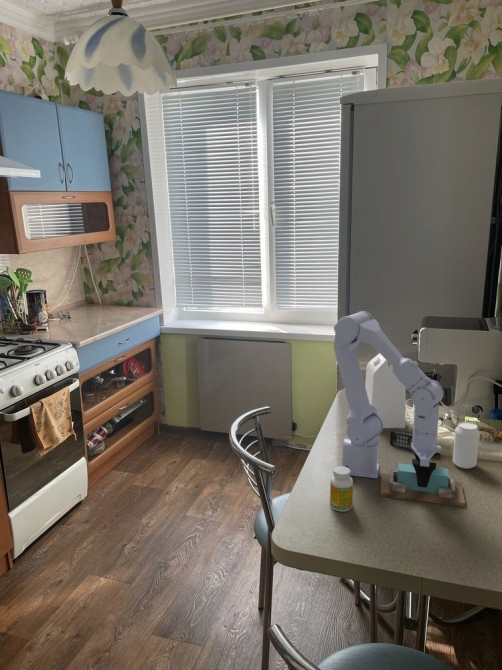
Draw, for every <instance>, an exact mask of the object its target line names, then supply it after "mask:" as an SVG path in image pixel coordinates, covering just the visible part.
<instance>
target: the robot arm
mask: <svg viewBox="0 0 502 670" xmlns="http://www.w3.org/2000/svg"><path fill="white" fill-rule="evenodd" d="M379 323H380V322H379V321H378V320H376V319H375V318H374V317H373V316H372V314H371V313H370V312H368V311H364V310H361V311H358V312H356V313H353V314H350V315H347V316H345V315H344V316H342V317H341V318H339V320H337V322H336V324H335V325H334V326H333V330H334V331H333V332H334V334H335V335H334V342H333V350H334V353H335V357H336V361H337V365H338V370H339V373H340V376H341V381H342V384H343V387H344V388H343V389H344V391H345V395H346V399H347V403H348V407H349V410H348V414H347V417H346V419H345V421H346V424H347V428H346V435H347V438H346V437H345V438H344V439H343V443H342V444H343V447H342V458H341V459H342V460H341V465H342V466H344V467H347V468H349V469H350V476H354V477H360V478H361V477H362V478H368V479H369V478H370V479H378V477H379V467H380V464H379V463H378V457H379V455H378V453H379V435H380V434H381V433H382V432H383V430H384V428H383V422H382V420H381V418H380V417H379V416H378V414H377V411H376V408H374V407H373V406H372V405H370V403H369V399H368V395H367V392H366V388H365V381H364V380H365V379H364V377H363V373H362V370H361V369H362V368H361V365H360V361H359V359H358V354H357V351H356V348H357V347H358V346H359V344H360V343H361V344H370V346H372V347H373V348H374V349H375V350H376V351H377V352H378V354H379V353H380V354H381V355H382V356H383V357H384V358H385V359H386V360H387V361H388V362H389V363H390V364H391V365H392V366H393V374H394V375H395V376H396V378H397V379H398V380H399V381H400V382H401V383H402V384H403V385H404V387H405V388H406V390H407V391H408V393H410V394H411V395H410V400H411V403H412V405H413V406H414V413H413V424H412V425H413V426H412V427H413V428H412V433H413V441H412V444H411V448H412V449H413V450H412V451H413V453H414V458H412V459H411V463H412V464H411V465H413V467H414V469H415V472H416V477H417V484H418V487H425V488H427V486H428V483H429V479H430V476H431V474H432V472H433V471H434V470H435V468H437V463H436V462H431V459H432V458H433V456H434V455H435V454H436V453H435V452H436V451H438V452H441V451H442V447H441V445H436V444H437V440H438V429H439V427H438V426H439V415H440V403H439V402H441V401H442V399H443V398H444V395H445V393H444V389H443V387H442V385H441V384H440V382H438V381H437V380H434V379H432V378H430V376H429V377H428V376H427V375H426V374H425V373H424V372H423V370H422V369H420V367H419V363H418V362H417V361H416V360H414V361H413V360H412V359H411V358H410V357H409V358H407V357H403V355H402V354H401V353H400V351H399V350H398V349H397V347H396V346H395V345H394V344H393V342H391V340H390V339H389V338H388V336H387V335H386V334H385V332H383V330H382V329H381V327H380V324H379Z"/></svg>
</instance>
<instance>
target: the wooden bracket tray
mask: <svg viewBox="0 0 502 670" xmlns="http://www.w3.org/2000/svg"><path fill="white" fill-rule="evenodd" d="M389 471H390V473H387V472H386V473H385V472H382V473H381V479H380V480H381V481H380V491H379V492H380V493H379V496H380V497H386V498H387V497H388V498H392V499H393V498H394V499H403V500H409V501H418V502H424V503H432V504H441V505H448V506H455V507H463V508H464V507H466V501H465V496H464V491H463V486H462V485H463V483H462V482H461V481H455V480H454V476H449V479H448V489H444V488H439V494H438V493H430V492H423V491H415V490H407V489H405V484H404V483H397V481H398V469H396V470H395V469H390V470H389Z"/></svg>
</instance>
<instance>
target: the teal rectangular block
mask: <svg viewBox="0 0 502 670" xmlns="http://www.w3.org/2000/svg"><path fill="white" fill-rule="evenodd" d="M397 465H398V466H397V471H398V481H397V483H404V484H405V489H407V490H415V491H423V492H430V493H438V494H439V488H444V489H448V479H449V477H450V475H449V469H448V468H443V467H436V468H435V470H434V471H433V472H432V474H431V476H430V479H429V483H428V486H427V488H425V487H418V484H417V477H416V472H415V469H414V467H413V464H411V463H410V464H409V463H408V464H407V463H400V462H398V464H397Z"/></svg>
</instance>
